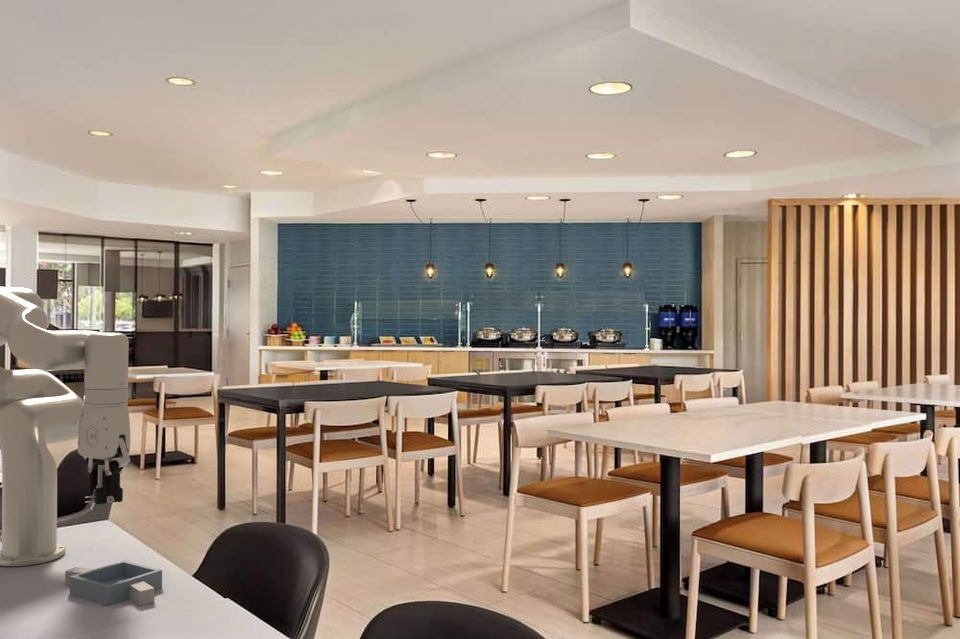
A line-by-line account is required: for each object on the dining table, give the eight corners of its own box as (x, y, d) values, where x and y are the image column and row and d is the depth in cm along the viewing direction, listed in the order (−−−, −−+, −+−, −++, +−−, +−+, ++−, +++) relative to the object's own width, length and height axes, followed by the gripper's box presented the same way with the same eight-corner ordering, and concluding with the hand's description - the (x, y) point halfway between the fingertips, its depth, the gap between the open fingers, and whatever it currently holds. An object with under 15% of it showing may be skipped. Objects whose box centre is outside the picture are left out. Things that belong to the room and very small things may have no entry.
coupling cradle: (49, 588, 139) (49, 570, 139) (104, 571, 148) (104, 555, 148) (127, 611, 128) (127, 592, 128) (181, 592, 137) (181, 574, 137)
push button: (89, 507, 145) (90, 453, 145) (81, 502, 149) (82, 450, 149) (126, 502, 150) (127, 450, 150) (118, 497, 154) (119, 446, 154)
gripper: (61, 396, 150) (60, 492, 150) (115, 402, 142) (113, 503, 142) (97, 393, 156) (96, 485, 157) (151, 398, 148) (149, 496, 148)
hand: (104, 493), depth 149 cm, fingers closed on push button, 3 cm apart
